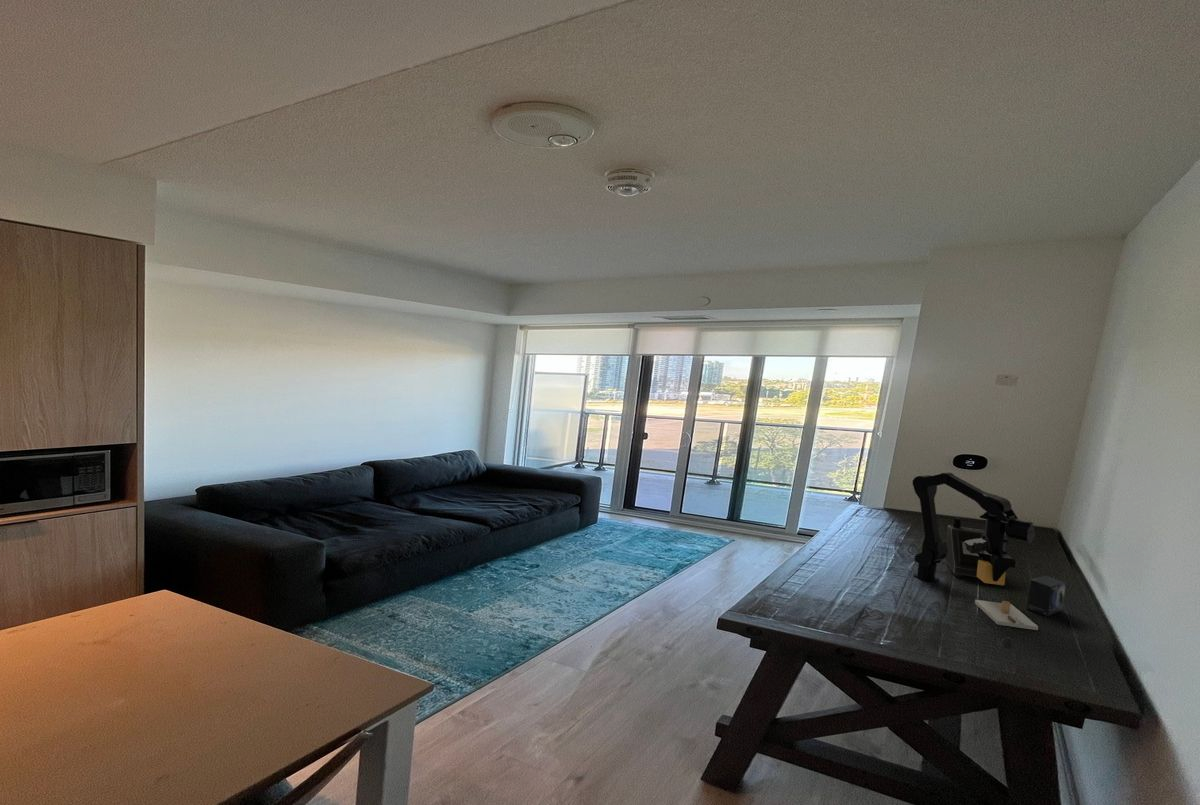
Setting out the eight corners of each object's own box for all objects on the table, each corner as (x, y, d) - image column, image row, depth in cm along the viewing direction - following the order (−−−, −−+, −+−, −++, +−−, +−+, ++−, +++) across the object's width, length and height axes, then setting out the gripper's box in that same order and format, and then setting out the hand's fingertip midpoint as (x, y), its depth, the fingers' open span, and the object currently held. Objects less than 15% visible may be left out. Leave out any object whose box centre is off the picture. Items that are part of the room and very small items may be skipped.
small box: (1048, 617, 176) (1051, 586, 175) (1025, 608, 182) (1028, 579, 181) (1063, 611, 181) (1067, 581, 180) (1040, 603, 186) (1044, 574, 186)
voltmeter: (953, 577, 208) (959, 526, 206) (944, 563, 223) (949, 516, 221) (1003, 585, 202) (1009, 533, 200) (990, 570, 217) (995, 522, 215)
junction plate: (974, 603, 184) (976, 589, 184) (1011, 608, 181) (1012, 594, 181) (998, 625, 168) (999, 610, 168) (1038, 631, 165) (1040, 616, 165)
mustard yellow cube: (976, 576, 190) (978, 559, 189) (995, 578, 188) (997, 562, 188) (984, 582, 184) (986, 565, 183) (1004, 585, 182) (1006, 568, 182)
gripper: (957, 523, 196) (953, 565, 197) (981, 539, 178) (976, 584, 179) (992, 527, 193) (988, 569, 194) (1019, 543, 175) (1014, 589, 176)
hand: (990, 577), depth 186 cm, fingers closed on mustard yellow cube, 6 cm apart
